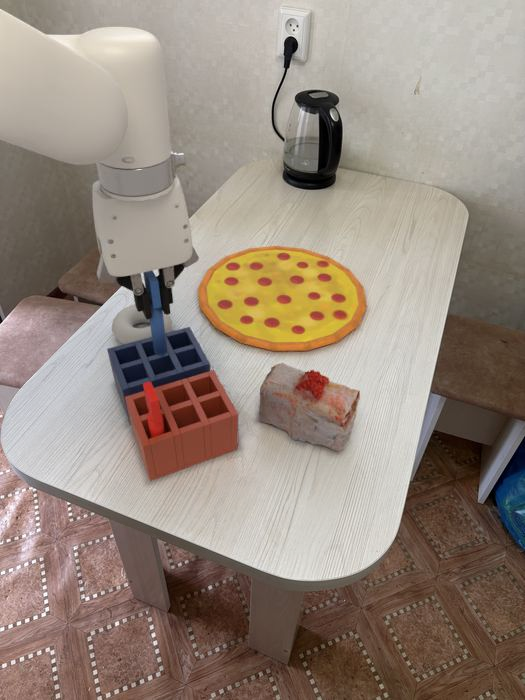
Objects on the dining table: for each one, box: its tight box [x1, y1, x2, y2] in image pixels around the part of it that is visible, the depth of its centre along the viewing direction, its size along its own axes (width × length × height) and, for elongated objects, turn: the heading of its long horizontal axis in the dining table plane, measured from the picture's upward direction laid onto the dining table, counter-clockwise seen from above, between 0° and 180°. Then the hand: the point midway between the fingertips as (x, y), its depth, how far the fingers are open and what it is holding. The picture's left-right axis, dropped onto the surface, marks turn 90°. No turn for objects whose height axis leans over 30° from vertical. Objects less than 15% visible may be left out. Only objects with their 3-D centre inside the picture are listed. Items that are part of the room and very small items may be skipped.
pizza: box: [197, 245, 368, 352], centre depth 96 cm, size 32×32×1 cm
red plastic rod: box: [143, 381, 165, 438], centre depth 64 cm, size 2×3×14 cm, turn 26°
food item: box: [258, 362, 361, 453], centre depth 71 cm, size 14×8×10 cm, turn 66°
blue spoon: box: [143, 270, 167, 357], centre depth 65 cm, size 2×3×14 cm, turn 26°
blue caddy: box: [107, 326, 211, 427], centre depth 75 cm, size 13×9×8 cm
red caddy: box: [125, 369, 239, 482], centre depth 69 cm, size 13×9×8 cm
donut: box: [111, 304, 173, 345], centre depth 86 cm, size 10×4×10 cm
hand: (155, 309), depth 64 cm, fingers closed on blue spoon, 1 cm apart
